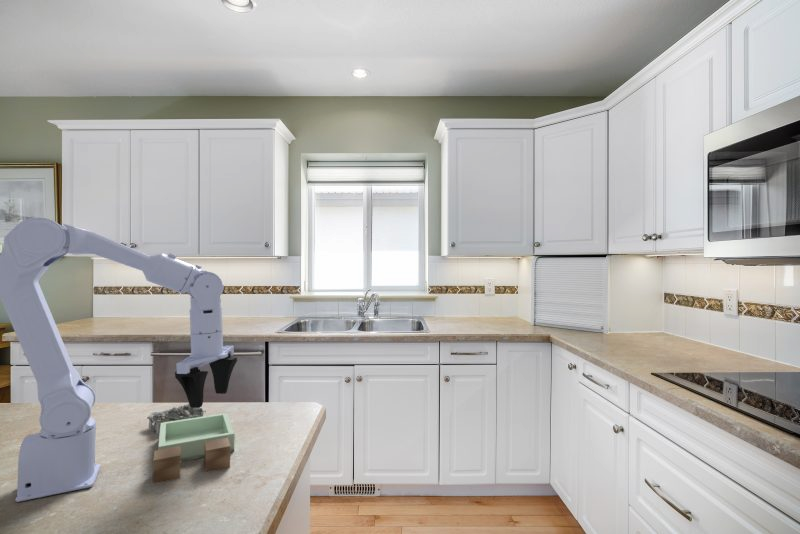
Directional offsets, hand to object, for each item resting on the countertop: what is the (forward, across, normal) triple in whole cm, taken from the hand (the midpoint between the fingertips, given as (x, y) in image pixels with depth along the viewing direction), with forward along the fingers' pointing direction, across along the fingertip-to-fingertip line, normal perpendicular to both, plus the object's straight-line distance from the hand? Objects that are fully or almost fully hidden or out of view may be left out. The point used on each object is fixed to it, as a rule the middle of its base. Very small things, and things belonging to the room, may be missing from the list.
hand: (209, 399), depth 78 cm
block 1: (+10, -10, +2) cm, 14 cm away
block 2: (+10, -5, -5) cm, 12 cm away
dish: (+10, +2, +5) cm, 11 cm away
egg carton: (+11, +10, +17) cm, 22 cm away
